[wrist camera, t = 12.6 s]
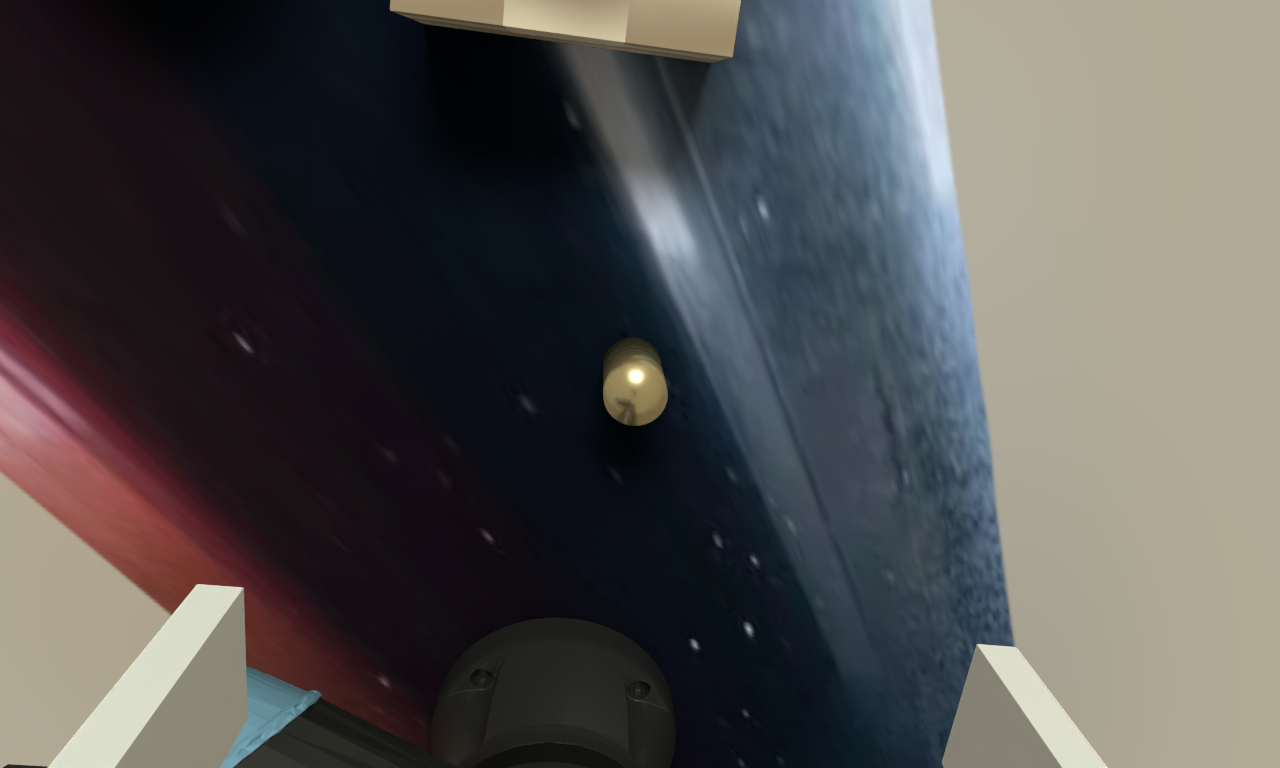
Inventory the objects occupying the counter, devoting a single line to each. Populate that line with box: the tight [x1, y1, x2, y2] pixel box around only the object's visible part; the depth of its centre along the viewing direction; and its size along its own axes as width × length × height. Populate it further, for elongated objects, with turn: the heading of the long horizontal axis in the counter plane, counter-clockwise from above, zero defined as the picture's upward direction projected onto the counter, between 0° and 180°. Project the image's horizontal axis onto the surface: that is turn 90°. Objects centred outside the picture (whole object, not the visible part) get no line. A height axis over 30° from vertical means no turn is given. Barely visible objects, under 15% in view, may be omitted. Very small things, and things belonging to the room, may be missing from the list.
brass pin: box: [603, 337, 668, 426], centre depth 44 cm, size 3×3×5 cm
